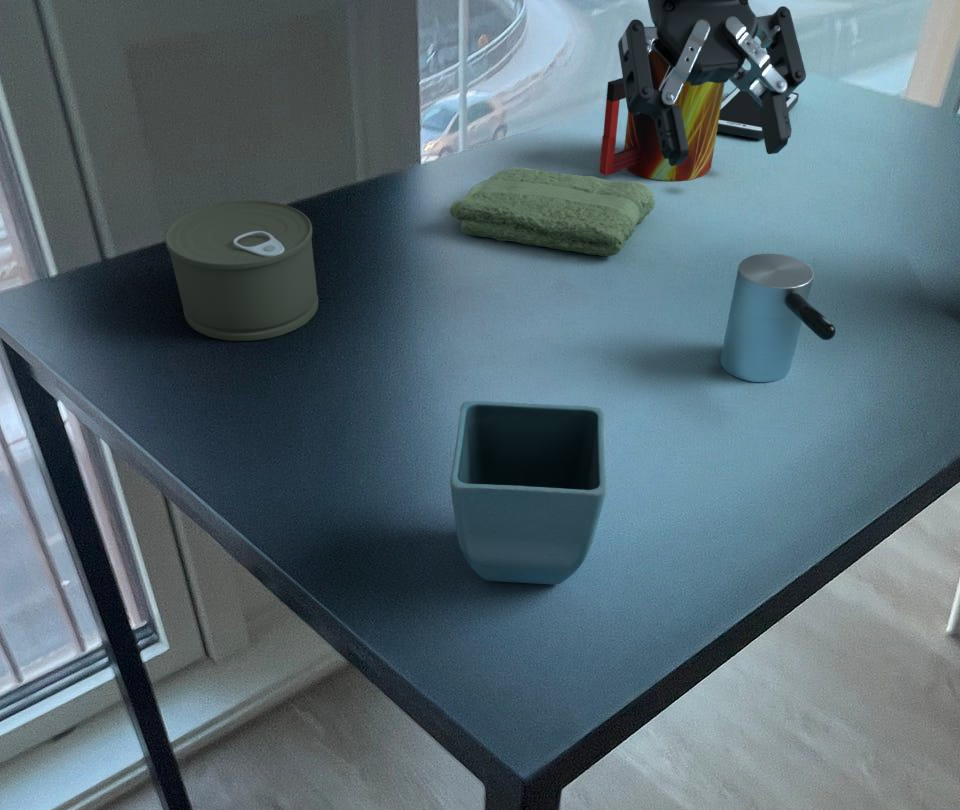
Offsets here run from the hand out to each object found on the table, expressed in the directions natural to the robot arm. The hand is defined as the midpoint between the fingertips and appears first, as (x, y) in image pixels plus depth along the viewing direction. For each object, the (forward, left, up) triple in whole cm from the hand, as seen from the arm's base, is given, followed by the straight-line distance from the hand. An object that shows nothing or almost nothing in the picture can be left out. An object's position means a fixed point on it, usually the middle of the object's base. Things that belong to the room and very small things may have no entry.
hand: (729, 155), depth 79 cm
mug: (-19, -24, -13) cm, 33 cm away
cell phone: (-39, -29, -13) cm, 50 cm away
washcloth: (-1, -21, -13) cm, 25 cm away
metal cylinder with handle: (+4, +11, -13) cm, 18 cm away
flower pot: (+33, +16, -13) cm, 39 cm away
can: (+31, -24, -13) cm, 42 cm away
